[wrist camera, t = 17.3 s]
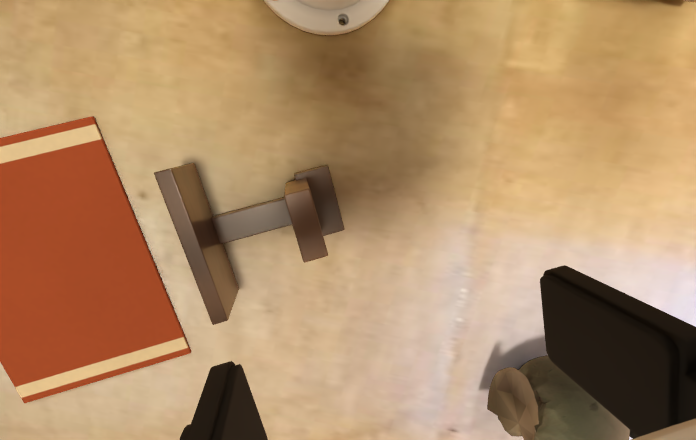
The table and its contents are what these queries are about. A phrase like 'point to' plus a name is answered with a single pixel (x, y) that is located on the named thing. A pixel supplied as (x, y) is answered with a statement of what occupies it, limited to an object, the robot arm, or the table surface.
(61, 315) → the towel
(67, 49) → the table surface
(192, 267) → the rod with end plates
